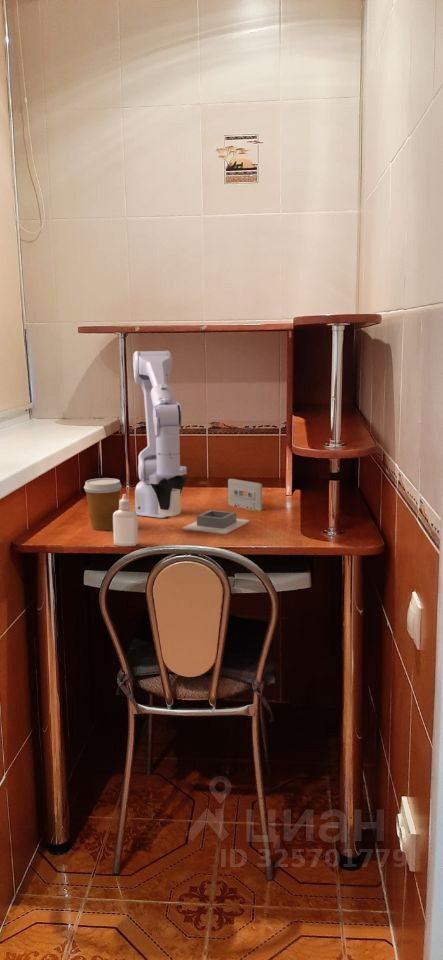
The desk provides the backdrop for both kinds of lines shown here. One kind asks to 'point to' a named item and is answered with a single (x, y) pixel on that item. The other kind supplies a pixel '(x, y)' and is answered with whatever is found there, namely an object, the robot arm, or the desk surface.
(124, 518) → the eye dropper bottle
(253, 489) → the cassette
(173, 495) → the block
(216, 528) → the socket dock
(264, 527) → the desk surface
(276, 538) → the desk surface
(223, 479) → the desk surface
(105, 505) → the disposable coffee cup
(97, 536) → the desk surface
